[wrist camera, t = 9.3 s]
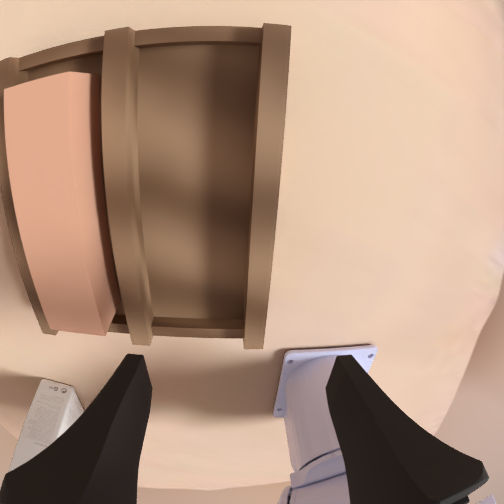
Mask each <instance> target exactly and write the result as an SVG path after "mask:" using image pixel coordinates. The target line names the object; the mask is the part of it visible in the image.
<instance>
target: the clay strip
mask: <svg viewBox="0 0 504 504" xmlns="http://www.w3.org/2000/svg"><path fill="white" fill-rule="evenodd" d="M99 87H100V75H98V74H89V73H80V72H64V73H60V74H56V75H51V76H47V77H44V78H40V79H36V80H33V81H29V82H26V83H22V84H19V85H16V86H13V87H10V88H6V89H4V125H5V141H6V153H7V162H8V170H9V178H10V185H11V191H12V197H13V203H14V208H15V213H16V218H17V223H18V227H19V232H20V236H21V240H22V244H23V248H24V252H25V256H26V259H27V263H28V266H29V270H30V273H31V276H32V279H33V283H34V286H35V289H36V292H37V295H38V298H39V300H40V303H41V306H42V309H43V311H44V314H45V317H46V319H47V322H48V325H49V327H50V329H53V330H60V331H67V332H75V333H83V334H92V335H101V336H106V333H107V331H108V329H109V326H110V324H111V322H112V319H113V317H114V315H115V313H116V310H117V308H118V306H119V304H120V301H121V299H120V294H119V289H118V284H117V279H116V274H115V269H114V263H113V257H112V251H111V245H110V238H109V231H108V224H107V216H106V208H105V199H104V189H103V178H102V165H101V149H100V121H99Z"/></svg>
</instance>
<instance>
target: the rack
mask: <svg viewBox="0 0 504 504" xmlns="http://www.w3.org/2000/svg"><path fill="white" fill-rule="evenodd" d="M290 40H291V26H288V25H279V24H268V23H264V24H263V27H262V28H255V27H234V26H192V27H172V28H159V29H148V30H139V31H134V30H133V29H131V28H130V27H125V28H119V29H113V30H107V31H105V35H104V36H100V37H95V38H90V39H85V40H81V41H76V42H72V43H68V44H64V45H60V46H56V47H53V48H49V49H46V50H42V51H39V52H36V53H33V54H30V55H27V56H24V57H21V58H12V57H9V58H7V59H4V60H1V61H0V186H1V192H2V198H3V203H4V209H5V214H6V218H7V223H8V227H9V232H10V236H11V240H12V244H13V248H14V251H15V255H16V258H17V262H18V265H19V269H20V272H21V275H22V278H23V281H24V284H25V287H26V290H27V293H28V296H29V299H30V302H31V304H32V307H33V310H34V312H35V315H36V317H37V320H38V322H39V325H40V327H41V330H42V332H43V333H45V334H51V335H56V334H57V332H58V331H59V330H53V329H50V327H49V325H48V322H47V319H46V317H45V314H44V311H43V309H42V306H41V303H40V300H39V298H38V295H37V292H36V289H35V286H34V283H33V279H32V276H31V273H30V270H29V266H28V263H27V259H26V256H25V252H24V248H23V244H22V240H21V236H20V232H19V227H18V223H17V218H16V213H15V208H14V203H13V197H12V191H11V185H10V178H9V170H8V162H7V153H6V141H5V125H4V89H6V88H10V87H13V86H16V85H19V84H22V83H26V82H29V81H33V80H36V79H40V78H44V77H47V76H51V75H56V74H60V73H64V72H80V73H89V74H98V75H100V87H99V121H100V149H101V165H102V178H103V189H104V199H105V208H106V216H107V224H108V231H109V238H110V245H111V251H112V257H113V263H114V269H115V274H116V279H117V284H118V289H119V294H120V299H121V301H120V304H119V306H118V308H117V310H116V313H115V315H114V317H113V319H112V322H111V324H110V326H109V329H108V331H107V332H117V333H128V334H130V337H131V340H132V344H135V345H148V346H150V344H151V340H152V336H153V335H156V336H174V337H198V338H243V342H244V349H263V344H264V336H265V327H266V318H267V309H268V299H269V290H270V280H271V271H272V261H273V251H274V241H275V230H276V220H277V209H278V198H279V187H280V175H281V164H282V152H283V139H284V127H285V114H286V100H287V86H288V72H289V56H290Z"/></svg>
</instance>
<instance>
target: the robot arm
mask: <svg viewBox="0 0 504 504" xmlns="http://www.w3.org/2000/svg"><path fill="white" fill-rule="evenodd" d="M377 351H378V349H377V347H376V345H366V346H355V347H342V348H327V349H308V350H289V351H287V352H286V353H285V355H284V360H283V365H282V370H281V375H280V381H279V386H278V391H277V396H276V401H275V406H274V410H273V416H274V417H284V422H285V428H286V434H287V441H288V447H289V454H290V460H291V464H292V467H293V470H294V471H295V473H291V474H290V479H291V485H290V486H287V487H286V488H285V489H284V490H283V492H282V494H281V496H280V498H279V501H278V504H467V503H469V498H468V495H469V494H470V493H472V492H473V491H475V490H476V489H478V488H479V487H481V486H482V485H483V484H485V483H486V482H487V481H488V479H489V476H488V474H487V472H486V470H485V468H484V465H483V463H482V461H480V460H477V459H475V458H472V457H470V456H468V455H465V454H463V453H461V452H459V451H457V450H455V449H454V448H452V447H450V446H448V445H447V444H445V443H443V442H442V441H440V440H439V439H437V438H436V437H434V436H433V435H431V434H430V433H428V432H427V431H426V430H424V429H423V428H422V427H420V426H419V425H418V424H417V423H415V422H414V421H413V420H412V419H411V418H409V417H408V416H407V415H406V414H405V413H404V412H403V411H402V410H401V409H400V408H399V407H398V406H397V405H396V404H395V403H394V402H393V401H392V400H391V399H390V398H389V397H388V396H387V395H386V394H385V393H384V392H383V391H382V389H381V388H380V387H379V386H378V385H377V384H376V383H375V382H374V380H373V379H372V378H371V377H370V376H369V375H368V371H369V369H370V367H371V365H372V362H373V360H374V358H375V355H376V353H377ZM289 360H290V361H289ZM151 396H152V386H151V382H150V378H149V375H148V371H147V367H146V363H145V359H144V355H136V354H127V355H126V356H125V358H124V359H123V361H122V362H121V364H120V365H119V367H118V368H117V369H116V371H115V372H114V374H113V375H112V377H111V378H110V379H109V381H108V382H107V383H106V385H105V386H104V387H103V389H102V390H101V391H100V393H99V394H98V395H97V397H96V398H95V399H94V400H93V402H92V403H91V404H90V405H89V406H88V408H87V409H86V410H85V411H84V412H83V413H82V415H81V416H80V417H79V418H78V419H77V420H76V421H75V422H74V423H73V424H72V425H71V426H70V427H69V428H68V429H67V430H66V431H65V432H64V433H63V434H62V435H61V436H60V437H58V438H57V439H56V440H55V441H54V442H53V443H52V444H50V445H49V446H48V447H47V448H45V449H44V450H43V451H41V452H40V453H39V454H37V455H36V456H34V457H33V458H32V459H30V460H29V461H27V462H26V463H24V464H22V465H20V466H19V467H17V468H15V469H14V470H12V471H10V472H8V473H7V474H6V475H5V477H4V480H3V483H2V487H1V490H0V504H136V502H137V500H136V499H137V480H138V467H139V460H140V455H141V450H142V446H143V441H144V436H145V432H146V427H147V423H148V418H149V413H150V406H151ZM476 504H497V503H496V501H495V498H494V496H493V495H490V496H488V497H486V498H485V499H483V500H481V501H480V502H478V503H476Z"/></svg>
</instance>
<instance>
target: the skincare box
mask: <svg viewBox="0 0 504 504" xmlns="http://www.w3.org/2000/svg"><path fill="white" fill-rule="evenodd" d="M83 412H84V410H83V408H82V406H81V403H80V401H79V399H78V397H77V395H76V393H75V391H74V388H73V387H71V386H69V385H66V384H62V383H59V382H55V381H51V380H47V379H42V380H41V382H40V384H39V386H38V389H37V391H36V393H35V396H34V398H33V401H32V403H31V406H30V409H29V411H28V414H27V416H26V419H25V422H24V425H23V427H22V430H21V433H20V436H19V439H18V442H17V445H16V448H15V452H14V455H13V458H12V461H11V465H10V468H9V471H8V472H10V471H12V470H14V469H15V468H17V467H19V466H20V465H22V464H24V463H26V462H27V461H29V460H30V459H32V458H33V457H34V456H36V455H37V454H39V453H40V452H41V451H43V450H44V449H45V448H47V447H48V446H49V445H50V444H52V443H53V442H54V441H55V440H56V439H57V438H58V437H60V436H61V435H62V434H63V433H64V432H65V431H66V430H67V429H68V428H69V427H70V426H71V425H72V424H73V423H74V422H75V421H76V420H77V419H78V418H79V417H80V416H81V415H82V413H83Z"/></svg>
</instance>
